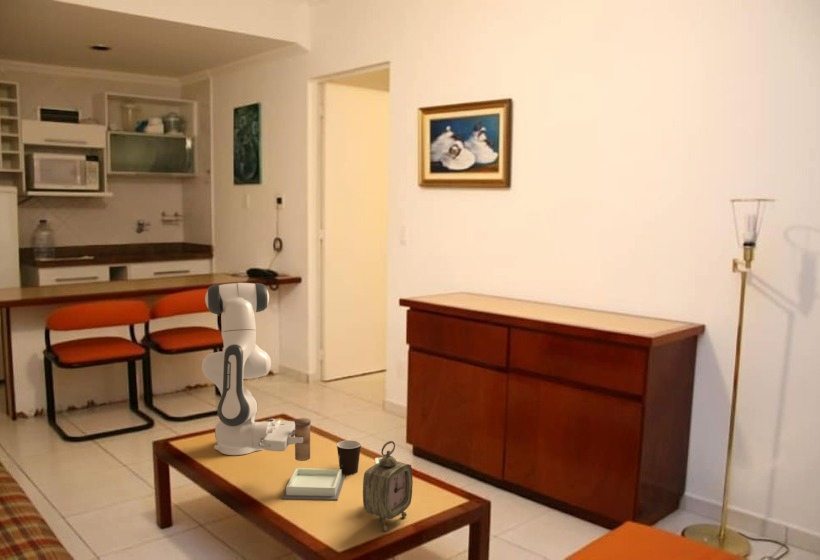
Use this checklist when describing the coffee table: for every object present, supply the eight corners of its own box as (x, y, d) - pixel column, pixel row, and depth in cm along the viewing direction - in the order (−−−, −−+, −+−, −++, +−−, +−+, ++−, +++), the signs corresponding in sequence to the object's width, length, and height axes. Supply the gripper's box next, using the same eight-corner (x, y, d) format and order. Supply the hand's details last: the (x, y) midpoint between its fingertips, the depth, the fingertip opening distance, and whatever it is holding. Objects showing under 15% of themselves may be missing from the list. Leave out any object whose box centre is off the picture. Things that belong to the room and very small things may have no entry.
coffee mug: (357, 476, 237) (357, 449, 236) (333, 474, 239) (333, 447, 238) (365, 464, 248) (365, 438, 247) (343, 462, 250) (343, 436, 249)
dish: (296, 475, 236) (296, 468, 236) (341, 476, 236) (341, 469, 235) (286, 495, 220) (286, 486, 220) (335, 496, 220) (335, 487, 219)
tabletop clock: (385, 535, 195) (386, 451, 192) (360, 527, 200) (360, 445, 197) (412, 516, 207) (413, 437, 204) (387, 509, 212) (388, 432, 209)
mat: (294, 474, 238) (294, 473, 238) (345, 476, 238) (345, 474, 238) (281, 499, 218) (281, 497, 218) (337, 500, 218) (337, 498, 218)
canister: (296, 455, 229) (296, 417, 227) (311, 455, 228) (311, 418, 227) (293, 460, 223) (293, 422, 222) (308, 461, 223) (308, 423, 222)
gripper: (255, 436, 215) (298, 437, 214) (271, 417, 235) (310, 418, 235) (256, 455, 216) (298, 457, 215) (271, 434, 236) (310, 435, 235)
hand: (305, 436), depth 225 cm, fingers closed on canister, 5 cm apart
